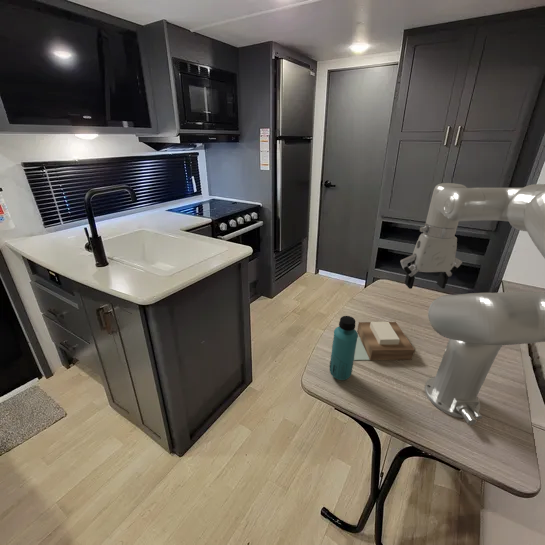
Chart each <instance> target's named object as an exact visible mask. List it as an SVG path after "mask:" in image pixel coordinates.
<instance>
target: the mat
mask: <svg viewBox="0 0 545 545" xmlns="http://www.w3.org/2000/svg"><path fill="white" fill-rule="evenodd" d="M354 358H355V359H354V361H371V360H370V359H369V356H368V354H367V352H366V350H365V348H364V345H363V343H362V341H361V339H360V337H359V335H358V338H357V343H356V349H355V355H354Z"/></svg>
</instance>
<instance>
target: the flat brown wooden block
mask: <svg viewBox="0 0 545 545" xmlns="http://www.w3.org/2000/svg"><path fill="white" fill-rule="evenodd" d="M371 322H372V321H370V322H369V321H368V322H367V321H363V322H362V321H361V322H360V321H359V322H358V326H357V330H356V331H357V333H358V336H359V337H360V339H361V342H362V344H363V346H364V348H365V350H366V353H367V355H368V357H369V359H370V360H369V361H411V360H413V357H414V353H415V352H416V351H415V348H414V347H413V345H412V344H411V342H410V341H409V339H408V338H407V337H406V334H405V333H404V332H403V330H402V329H401V328H400V326H399V324H398V323H397V322H396V321H388V322H389V324H390V325H391V327H392V328H393V330H394V331H395V333H396V334H397V336H398V338H399V339H400V340H399V344H393V345H379V343H378V341H377V339H376V338H375V336H374V334H373V332H372V330H371V328H370V323H371Z"/></svg>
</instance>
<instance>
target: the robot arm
mask: <svg viewBox="0 0 545 545" xmlns="http://www.w3.org/2000/svg"><path fill="white" fill-rule="evenodd" d="M471 221H472V222H473V221H499V222H500V221H502V222H509V224H510V226H511V227H512V228H514V229H515V230H518V231H522V232H526V233H527V234H528V235H529V238H530V240H531V241H532V242H533V244H534V246H535V247H536V249H537V250H538V251H539V253H540V254H541V256H542V257H543V258H544V259H545V184H544V183H543V184H541V183H540V184H539V183H536V184H529V185H526V186H524V187H467V186H466V185H464V184H460V183H453V182H442V183H438V184H437V185H435V187H434V188H433V192H432V196H431V199H430V203H429V208H428V212H427V216H426V219H425V223H424V226H420V228H419V232H421V234H420V235H419V236H418V238H417V239H418V240H417V241H416V244H415V247H414V248H413V252H412V254H411V255H409V256H407V257H405V258H403V259H402V258H401V259H400V261H399V262H400V265H401V268H402V269H403V271H405V273H406V274H405V275H406V276H405V279H404V283H405V286H406V287H407V288H408V289H413V287H414V282H415V279H416V276H414V275H416V274H417V273H419V272H420V273H439V274H438V278H437V281H436V285H437V286H439V287H440V289H445V288H446V285H447V283H448V281H449V277H452V275H453V273H454V272H456V271H457V270H458V268H459V267H460V266H461V265H462V264H463V261H462V260H460V259H459V258H457V257H456V253H457V248H458V247H457V246H458V243H457V242H458V238H457V237H456V236H455V235H456V232H457V229H458V226H459V222H471ZM409 263H410V266H409V265H408V264H409ZM427 311H428V312H427V318H428V322H429V324H430V326H431V327H432V329H433V330H434V331H435V332H436V333H437V334H438V335H440V336H442V337H443V338H446V339H448V342H447V344H446V347H445V349H444V353H443V355H442V359H441V361H440V364H439V366H438V369H437V372H436V375H435V376H433V377H430V378H429V379H427V380H426V383H425V385H424V392H425V395H426V396H427V399H428V400H429V401H430V402H431V404H432V405H434V406H435V407H436V408H437V409H439V410H440V411H442V412H444V413H445V414H447V415H450V416H452V417H456V418H459V419H464V420H465V422H466V423H467V424H468V426H473V425H475V424H476V423H477V420H481V419H482V418H483V416H482V414H481V413H480V412H479V411H480V409H481V403H480V400H479V397H478V395H479V393H480V391H481V389H482V388H483V384H484V383H485V380H486V378H487V377H488V374H489V372H490V370H491V367H492V366H493V364H494V362H495V360H496V358H497V356H498V354H499V352H500V350H501V348H502V347H503V346H510V345H515V346H516V345H523V344H526V345H527V344H534V343H535V344H536V343H537V344H538V343H545V292H537V291H534V292H533V291H505V292H504V291H503V292H502V291H501V292H474V293H473V292H471V293H462V294H461V293H458V294H445V295H441V296H439V297H436V298H435V299H434V300H433V301H432V302H431V304H430V305H429V307H428V310H427Z"/></svg>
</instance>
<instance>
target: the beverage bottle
mask: <svg viewBox="0 0 545 545" xmlns="http://www.w3.org/2000/svg"><path fill="white" fill-rule="evenodd" d="M338 322H339V323H338V326H337V327H336V328H335V329H334V331H333V339H332V345H331V354H330V361H329V367H328V368H329V373H330V375H331V376H332V377H333V378H335V379H336V380H338V381H339V380H341V381H344V380H348V379H349V378H350V377H352V373H353V368H354V362H355V360H354V359H355V358H354V355H355V349H356V343H357V338H358V336H359V334H358V332H357V330H356V320H355V318H354V317H352V316H349V315H342V316H341V317H340V319H339V321H338Z"/></svg>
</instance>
